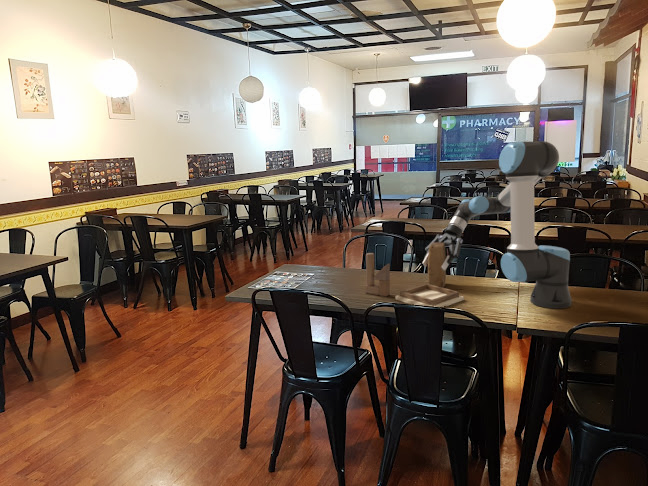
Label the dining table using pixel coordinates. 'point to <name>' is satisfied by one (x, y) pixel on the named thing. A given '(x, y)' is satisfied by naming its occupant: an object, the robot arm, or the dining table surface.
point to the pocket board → (429, 296)
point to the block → (436, 264)
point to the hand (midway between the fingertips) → (433, 266)
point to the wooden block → (382, 276)
